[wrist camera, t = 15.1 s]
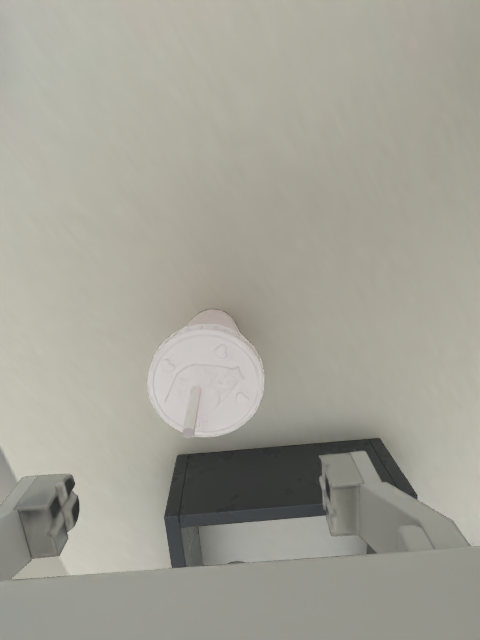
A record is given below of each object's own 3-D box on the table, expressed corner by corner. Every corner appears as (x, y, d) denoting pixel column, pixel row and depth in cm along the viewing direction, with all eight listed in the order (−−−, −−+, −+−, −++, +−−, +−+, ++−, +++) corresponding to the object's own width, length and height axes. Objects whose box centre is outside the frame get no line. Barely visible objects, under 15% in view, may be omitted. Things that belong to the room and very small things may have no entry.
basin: (379, 438, 34) (417, 495, 27) (377, 596, 38) (409, 679, 31) (176, 455, 33) (163, 517, 27) (198, 612, 38) (191, 698, 31)
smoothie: (157, 310, 30) (98, 390, 17) (236, 278, 30) (242, 335, 16) (191, 383, 32) (163, 510, 18) (266, 354, 31) (295, 463, 18)
